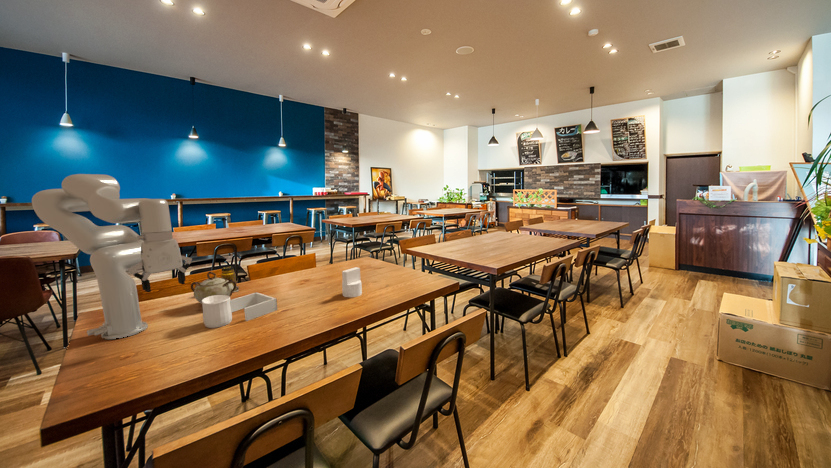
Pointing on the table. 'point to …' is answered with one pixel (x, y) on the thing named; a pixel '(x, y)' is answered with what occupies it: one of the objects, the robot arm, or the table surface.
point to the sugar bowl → (212, 287)
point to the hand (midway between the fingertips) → (165, 287)
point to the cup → (216, 311)
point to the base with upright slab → (351, 282)
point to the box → (254, 305)
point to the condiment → (229, 275)
